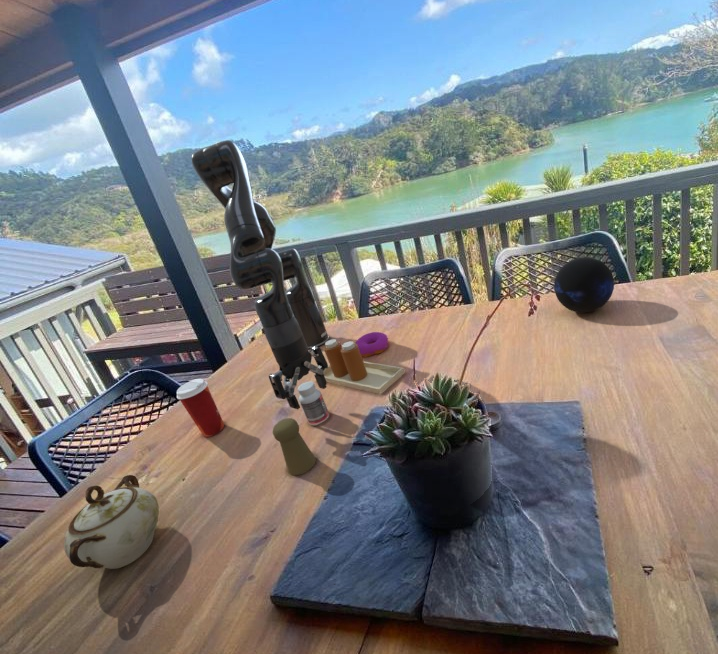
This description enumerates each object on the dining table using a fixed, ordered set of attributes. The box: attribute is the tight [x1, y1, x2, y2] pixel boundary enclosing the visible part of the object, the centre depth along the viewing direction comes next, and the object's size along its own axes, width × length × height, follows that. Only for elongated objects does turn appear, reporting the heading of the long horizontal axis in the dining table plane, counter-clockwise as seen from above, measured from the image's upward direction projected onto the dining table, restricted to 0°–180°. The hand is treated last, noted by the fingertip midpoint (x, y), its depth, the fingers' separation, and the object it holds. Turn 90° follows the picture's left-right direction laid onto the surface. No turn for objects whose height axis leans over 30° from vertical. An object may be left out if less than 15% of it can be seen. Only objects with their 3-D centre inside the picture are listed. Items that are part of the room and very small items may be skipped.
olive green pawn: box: [272, 417, 317, 476], centre depth 89 cm, size 6×6×11 cm
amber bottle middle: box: [341, 340, 367, 381], centre depth 117 cm, size 5×5×10 cm
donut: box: [355, 331, 389, 358], centre depth 133 cm, size 10×10×5 cm
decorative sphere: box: [553, 256, 615, 314], centre depth 118 cm, size 15×15×15 cm
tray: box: [323, 360, 406, 395], centre depth 119 cm, size 25×10×2 cm, turn 52°
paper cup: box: [176, 378, 225, 438], centre depth 112 cm, size 8×8×14 cm
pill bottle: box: [297, 380, 330, 426], centre depth 104 cm, size 5×5×10 cm
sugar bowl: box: [63, 474, 160, 570], centre depth 79 cm, size 20×15×15 cm
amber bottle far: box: [323, 338, 348, 378], centre depth 122 cm, size 5×5×10 cm
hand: (310, 397), depth 103 cm, fingers open, 8 cm apart
